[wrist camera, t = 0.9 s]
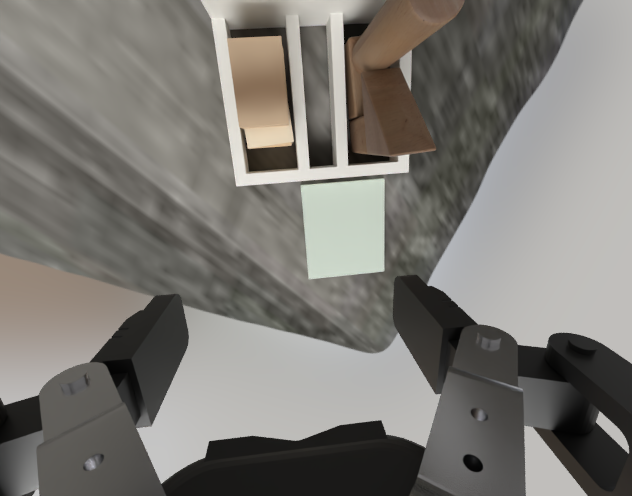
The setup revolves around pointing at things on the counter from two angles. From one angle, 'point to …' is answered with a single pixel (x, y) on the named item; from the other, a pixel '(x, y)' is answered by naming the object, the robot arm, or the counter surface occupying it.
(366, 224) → the sage mat
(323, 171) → the offcut rack
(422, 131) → the wooden block
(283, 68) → the offcut stack
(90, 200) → the counter surface
